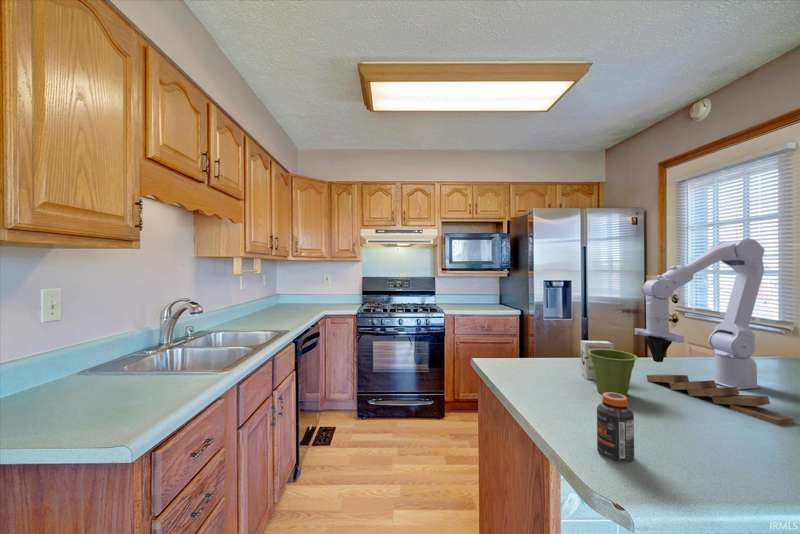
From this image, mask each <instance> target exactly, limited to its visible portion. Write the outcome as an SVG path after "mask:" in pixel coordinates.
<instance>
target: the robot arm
mask: <svg viewBox="0 0 800 534" xmlns="http://www.w3.org/2000/svg"><path fill="white" fill-rule="evenodd" d="M765 250H766V249H765V248H764V247H763V245H761V244H760V242H758V241H757V240H756V239H752V238H745V239H740V240H739V239H738V240H729V241H726V240H725V241H719V242H718V243H717V244H716V245H712V246H710V247H709V249H708V250H706V251H705V252H703V253H701V254H700V255H699V256H697V257H695V258H694V259H693V260H691V261H690V262H688V263H687V264H685V265H680V264H679V265H678V264H676V265H672V266H670V267H669V270H668V271H667V270H666V272H664V273H662V274H657V275H656V276H655V279H649V280H646V281H645V282H644V285H642V288H641V293H642V294H643V295H644V297H645V314H646V315H645V318H646V319H645V320H646V321H645V325H646V326H645V327H646V328H639V327H638V328H637V327H635V328H634V335H639V336H643V337H644V339H643V340H644V342H645V344H646V345H647V347H648V349H649V351H650V353H651V357H652V360H653V362H655V363H663V362H664V358H665V356H666V352H667V350H668V349H669V347H670V346H671V345H672V343H673V342H674V343H676V344H684V343H685V336H683V335H679V334H675V333H673V332H670V298H671V297H672V296H673V295H674V292H675V291H676V290H677V289H679V288H681V287H683V286H684V285H686V284H688V283H690V282H691V281H693V280H694V275H695V274H697V273H699V272H701V271H703V270H704V269H707V268H708V267H710V266H712V265H714V264H715V263H718V262H722V263H723V264H725V265H727V266H728V267H730V268H732V269H733V271H735V273H736V275H735V278H734V282H733V286H732V289H731V292H730V296H729V300H728V303H727V308H726V311H725V313H724V316H723V317H724V318H723V320H722V321H721V322H720V323H719V324H717V325H715V326H714V330H713V331H712V333H711V334H709V336H708V345H709V346H710V348H711V349H713V353H714V372H715V373H714V377H715V378H713V379H707V381H710V380H714V381H715V383H716V385H719V386H721V387H737V389H738V391H739V390H745V389H746V390H750V389H758V388H760V389H761V388H762V386H761V385H759V384H758V367H757V363H756V361H755V360H754V359H753V358H752V357H751V356H752V355H754V353H755V352H756V343H755V338H756V334H755V333H754V332H753V330H751V328H750V327H749V326H750V322H751V319H752V315H753V311H754V309H755V308H754V307H755V306H756V305H755V304H756V301H757V297H758V295H759V292H760V291H759V290H760V287H761V284H762V280H763V276H764V272H765V266H764V262H763V257H764V253H765Z"/></svg>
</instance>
